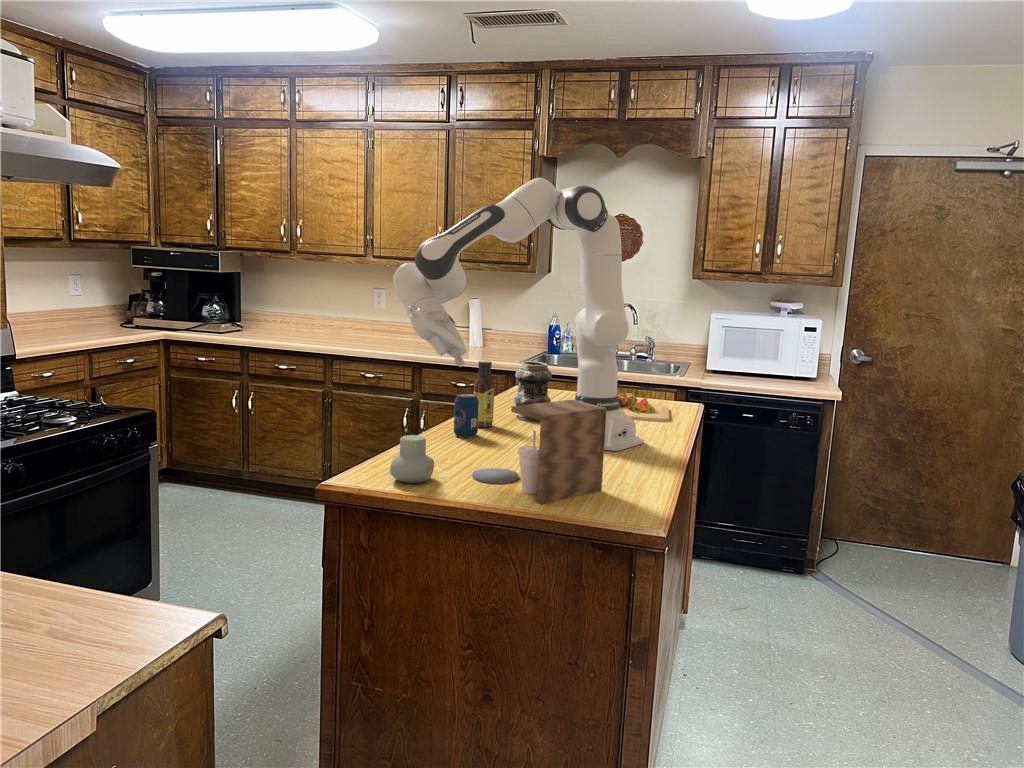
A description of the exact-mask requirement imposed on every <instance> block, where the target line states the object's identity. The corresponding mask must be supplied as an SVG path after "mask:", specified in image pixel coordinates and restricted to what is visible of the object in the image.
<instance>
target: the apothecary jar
mask: <svg viewBox="0 0 1024 768" xmlns="http://www.w3.org/2000/svg"><path fill="white" fill-rule="evenodd" d="M514 374H515V378H516V379H517V380H518V388H517V393H516V394H515V395H514V397H513V403H514V406H520V405H528V404H537V403H546V402H552V400H551V397H550V396H549V395H548V394H549V393H548V392H549V391H548V390H549V389H548V388H549V382H551V380H552V379H553V374H552V372H551V371H550V370H549V368H548V364H547V362H541V361H530V360H528V361H521V363H520V367H519V368H518V369H517V370H516V371H515V373H514ZM515 418H516V419H519V420H521V421H528V422H529V421H530V422H539V421H540V422H541V420H538V419H534V418H531V417H527V416H524V415H521V414H517V415H516V416H515Z"/></svg>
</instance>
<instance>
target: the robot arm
mask: <svg viewBox="0 0 1024 768" xmlns="http://www.w3.org/2000/svg"><path fill="white" fill-rule="evenodd" d="M544 222H547V223H548V224H550V225H551V226H552V227H553V228H555V229H558V230H562V231H563V230H569V231H576V232H577V233H578V235H579V239H580V242H581V247H580V286H581V290H582V295H583V299H584V300H583V301H584V307H583V308H582V309H580V311H578V312H577V314H576V316H575V320H574V327H575V338H576V351H577V352H576V353H577V354H576V355H577V385H576V389H577V390H576V393H575V396H574V399H575V400H576V401H580V402H585V403H589V404H593V405H597V406H601V407H605V408H607V410H606V426H605V442H604V451H613V452H619V451H623V450H625V449H629V448H632V447H635V446H639V445H642V444H644V443H645V440H644V439H643V438H642V437H640V436H637V426H636V423H635V420H632V419H631V418H630V417H629V416H628V415H627V414H626V413H624V412H623V411H622V410H621V409H620V403H622V404H626V403H625V402H627V400H626V399H627V398H626V397H622V396H620V397H618V396H617V394H618V393H617V392H618V378H619V377H618V376H619V375H618V374H619V367H618V362H617V357H616V356H617V355H616V348H617V347H618V346H620V345H621V344H623V343H624V342H625V341H626V339H627V337H628V336H629V330H630V329H629V328H630V327H629V323H628V320H627V317H626V308H625V307H626V306H625V300H624V295H623V293H624V292H623V287H622V285H623V284H622V282H623V281H622V273H623V272H622V268H623V267H622V266H623V265H622V263H623V262H622V260H623V259H622V258H623V257H622V251H623V250H622V238H621V237H622V236H621V229H620V223H619V221H618V219H617V218H616V217H615V216H613V214H610V213H609V211H608V209H607V207H606V203H605V200H604V197H603V195H602V194H601V193H600V191H598V190H597V189H596V188H594V187H591V186H589V185H578V186H569V187H567V188H564V189H557V188H556V187H555V186H554V184H553V183H551V182H550V181H549V180H548V179H546V178H543V177H536V178H533V179H531V180H529V181H527V182H526V183H524V184H522V185H520V187H517V188H516V189H515V190H514V191H512V192H511V193H510V194H508V195H507V196H506V197H505V198H504V199H502V200H501V201H499V202H497V203H496V204H489V205H486V206H483V207H481V208H480V209H478V210H476V211H475V212H473V213H471V214H470V215H469V216H467V217H466V218H464V219H463V220H461V221H459V222H458V223H456V224H455V225H453V226H452V227H450V228H449V229H447V230H445V231H444V232H442V233H440V234H438V235H435V236H433V237H430V238H428V239H427V240H424V241H423V242H422V243H421V244H420V245H419V247H418V248H417V250H416V251H415V253H414V262H405V263H403V264H402V265H400V266H399V267H398V268H397V269H396V270H395V272H394V275H393V278H392V283H393V288H394V291H395V293H396V296H397V298H398V300H399V302H400V303H401V305H402V306H403V308H404V309H405V310H406V315H407V316H408V319H409V321H410V323H411V325H412V328H413V330H414V332H415V333H416V334H417V336H418V337H419V338H421V339H423V340H424V341H426V342H427V343H429V344H430V345H431V347H433V349H434V350H435V351H436V354H437V355H439V356H441V357H442V356H444V355H445V354H447V355H449V356H450V357H451V358H453V359H454V363H455V365H456V366H457V367H459V368H461V367H463V366H464V365H465V364H466V363H465V361H464V358H463V356H464V355H465V354H467V346H466V345H465V343H464V340H463V338H462V336H461V334H460V333H459V332H460V331H458V329H457V328H456V327H457V326H458V325H457V323H456V321H455V320H454V319H453V317H451V316H450V315H449V314H448V312H447V310H446V308H445V307H444V306H443V304H444V303H446V302H449V301H451V300H453V299H455V298H457V297H459V296H460V295H461V294H463V293H464V291H465V289H466V288H467V284H468V277H467V274H466V272H465V270H464V268H463V267H462V264H461V263H460V261H459V256H460V254H461V253H462V252H463V251H464V250H465V249H467V248H468V247H470V246H471V245H473V244H474V243H476V242H477V241H479V240H480V239H482V238H483V237H485V236H489V235H491V236H492V235H493V236H494V237H496V238H498V239H499V240H500V241H503V242H506V243H518V242H520V241H522V240H523V239H525V238H526V237H528V236H529V235H530V234H531V233H533V232H534V231H536V229H537V228H538V227H539V226H540V225H542V224H543V223H544Z"/></svg>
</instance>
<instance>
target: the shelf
mask: <svg viewBox="0 0 1024 768" xmlns="http://www.w3.org/2000/svg"><path fill="white" fill-rule="evenodd" d="M510 408H511V411H510V412H511V413H514V414H517V415H518V414H521V415H524V416H527V417H531V418H534V419H538V420H541V421H540V425H539V426H540V429H539V446H538V447H539V468H538V489H537V493H536V503H537V504H538V505H543V504H547V503H552V502H557V501H560V500H561V501H562V500H565V499H570V498H575V497H580V496H584V495H589V494H594V493H598V492H602V489H603V487H602V486H603V474H604V473H603V471H604V469H603V468H604V457H605V455H604V454H605V450H604V442H605V426H606V410H607V408H605V407H601V406H597V405H593V404H589V403H585V402H580V401H576V400H571V399H567V400H557V401H551V402H546V403H537V404H528V405H520V406H516V405H512V406H511V407H510Z"/></svg>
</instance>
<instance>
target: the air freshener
mask: <svg viewBox="0 0 1024 768" xmlns="http://www.w3.org/2000/svg"><path fill="white" fill-rule="evenodd" d="M426 448H427V439H426V437H425V436H424V435H423V436H422V435H417V434H410V435H408V434H407V435H404V436H401V437H400V439H399V454H397V455H395V456H394V457H393V459H392V461H391V464H390V469H389V472H390V476H392V477H393V478H394V479H396V480H397V481H399V482H402V483H407V484H419V483H418V482H421V483H425V482H426V481H428V480H429V479H431V477H432V476H433V472H434V469H435V461H434V459H433V458H432V457H431V456H429V455H428V454H427V453H426V451H427V449H426Z"/></svg>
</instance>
